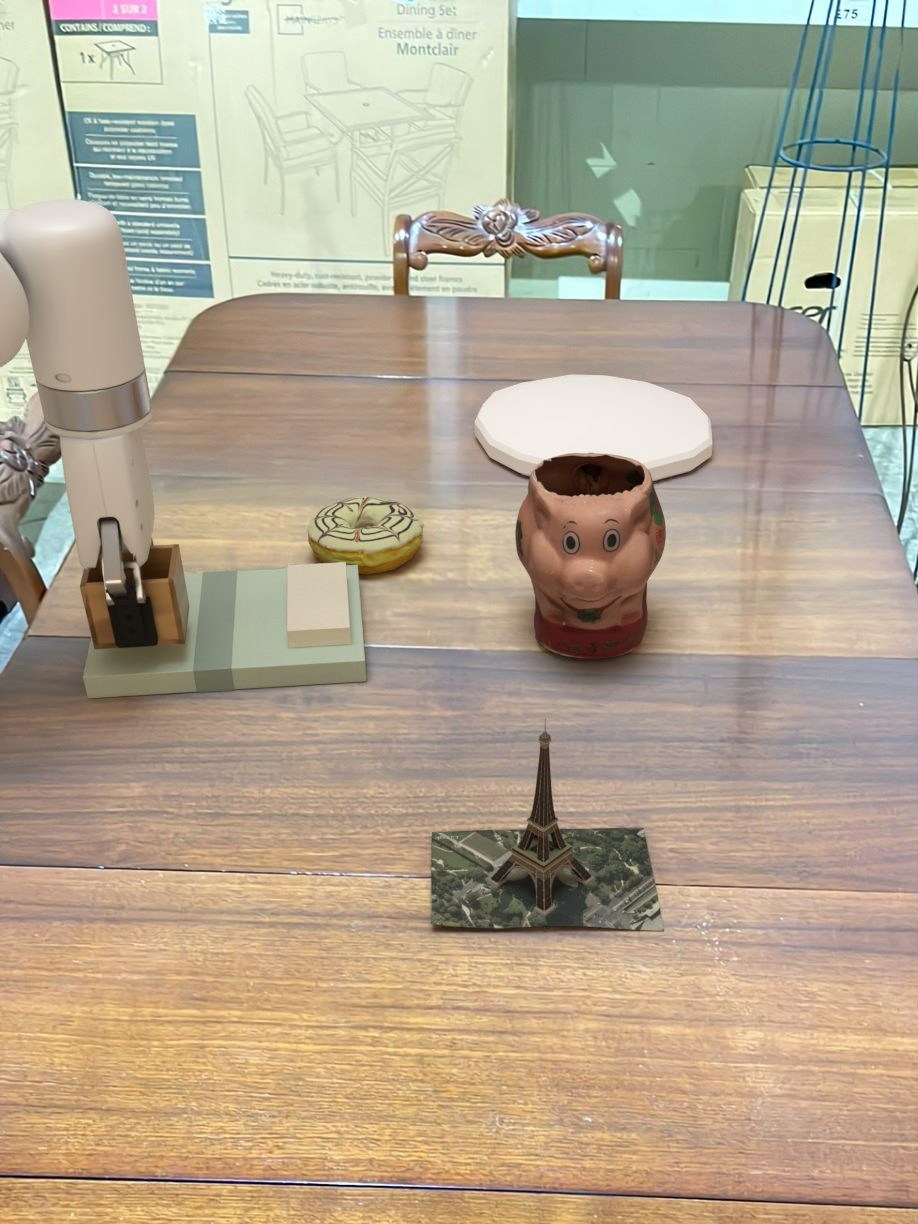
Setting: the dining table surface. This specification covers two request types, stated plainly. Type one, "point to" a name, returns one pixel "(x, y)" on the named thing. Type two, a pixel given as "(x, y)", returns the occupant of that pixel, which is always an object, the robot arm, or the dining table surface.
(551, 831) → the eiffel tower figurine
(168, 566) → the open wooden box
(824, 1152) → the dining table surface
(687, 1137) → the dining table surface
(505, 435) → the decorative plate
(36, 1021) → the dining table surface
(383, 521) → the decorated donut
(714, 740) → the dining table surface
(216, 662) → the bed
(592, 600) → the decorative planter
